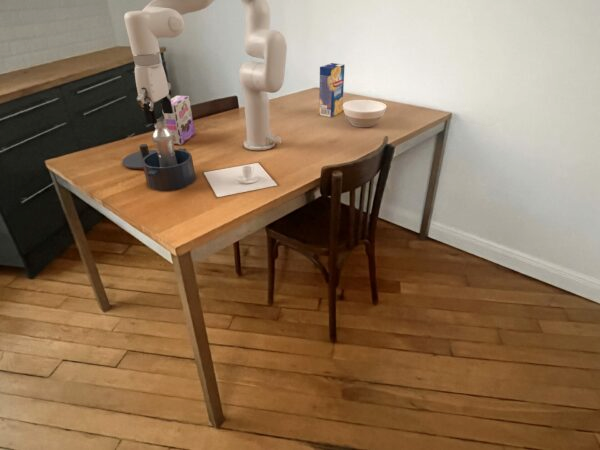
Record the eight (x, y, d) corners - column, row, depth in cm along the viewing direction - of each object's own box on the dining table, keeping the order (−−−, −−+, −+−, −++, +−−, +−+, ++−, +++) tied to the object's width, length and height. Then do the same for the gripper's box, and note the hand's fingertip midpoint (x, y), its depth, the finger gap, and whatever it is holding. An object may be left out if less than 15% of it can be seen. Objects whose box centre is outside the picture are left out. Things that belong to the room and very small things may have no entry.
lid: (177, 154, 156) (175, 139, 152) (155, 172, 142) (151, 155, 139) (139, 151, 159) (135, 136, 156) (113, 168, 145) (109, 152, 142)
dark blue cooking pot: (206, 169, 143) (202, 148, 139) (177, 197, 126) (173, 173, 122) (166, 165, 147) (161, 144, 142) (133, 192, 129) (127, 169, 125)
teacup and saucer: (237, 186, 132) (236, 175, 130) (231, 177, 138) (229, 166, 136) (263, 181, 135) (262, 170, 132) (255, 172, 141) (254, 161, 139)
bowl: (365, 134, 173) (366, 114, 168) (332, 123, 185) (333, 105, 181) (393, 124, 183) (395, 105, 179) (361, 114, 196) (362, 97, 191)
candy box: (181, 145, 164) (174, 104, 155) (168, 144, 165) (160, 103, 156) (195, 133, 175) (189, 95, 166) (182, 133, 176) (176, 94, 167)
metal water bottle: (185, 176, 138) (175, 118, 127) (173, 184, 133) (162, 124, 122) (169, 173, 140) (157, 116, 129) (157, 181, 134) (144, 122, 124)
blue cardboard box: (342, 111, 200) (344, 64, 189) (331, 117, 193) (332, 68, 181) (330, 109, 204) (331, 63, 192) (319, 114, 196) (319, 67, 184)
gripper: (151, 53, 124) (163, 109, 133) (118, 65, 110) (134, 127, 119) (174, 54, 122) (184, 110, 132) (143, 66, 108) (156, 128, 118)
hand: (160, 118), depth 125 cm, fingers open, 9 cm apart
